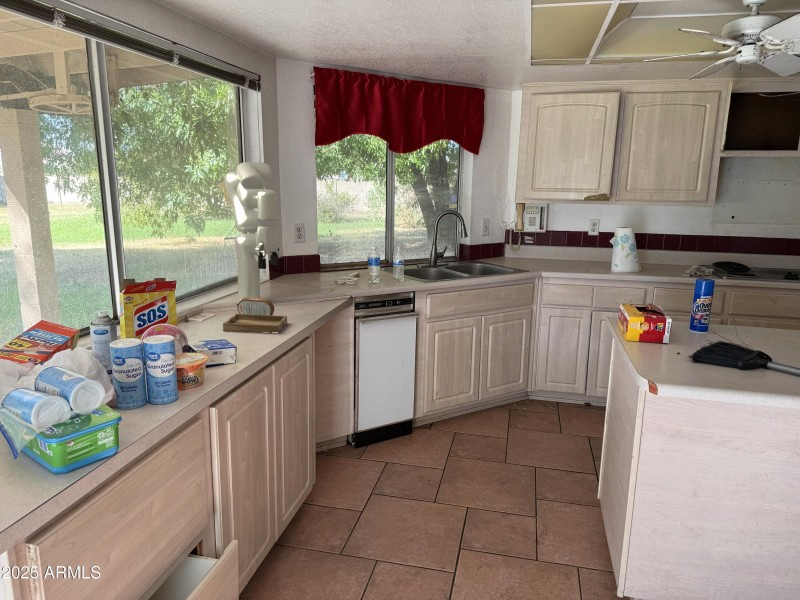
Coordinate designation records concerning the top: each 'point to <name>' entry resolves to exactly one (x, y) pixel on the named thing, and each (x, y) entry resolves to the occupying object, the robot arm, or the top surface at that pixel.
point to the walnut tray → (254, 323)
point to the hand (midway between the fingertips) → (268, 266)
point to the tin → (255, 306)
